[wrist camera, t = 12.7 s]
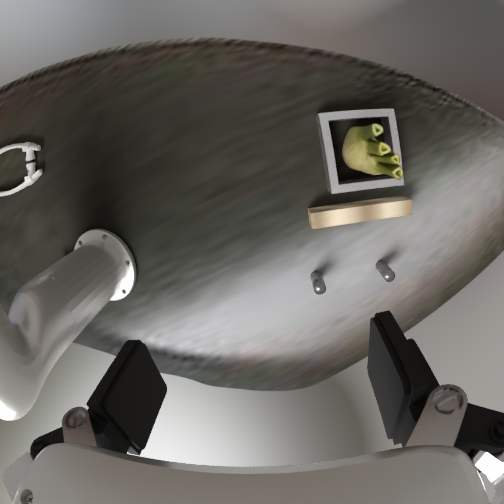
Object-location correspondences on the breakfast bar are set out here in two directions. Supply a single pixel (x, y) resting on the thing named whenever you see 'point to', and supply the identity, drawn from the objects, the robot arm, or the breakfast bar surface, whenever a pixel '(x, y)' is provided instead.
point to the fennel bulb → (370, 152)
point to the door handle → (32, 175)
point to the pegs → (380, 265)
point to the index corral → (328, 153)
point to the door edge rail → (359, 211)
